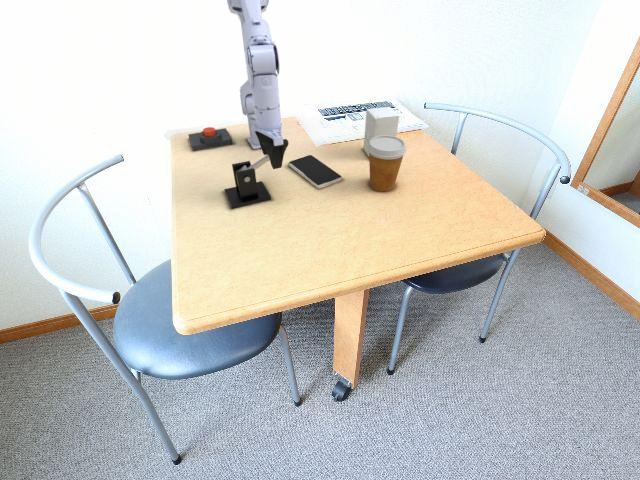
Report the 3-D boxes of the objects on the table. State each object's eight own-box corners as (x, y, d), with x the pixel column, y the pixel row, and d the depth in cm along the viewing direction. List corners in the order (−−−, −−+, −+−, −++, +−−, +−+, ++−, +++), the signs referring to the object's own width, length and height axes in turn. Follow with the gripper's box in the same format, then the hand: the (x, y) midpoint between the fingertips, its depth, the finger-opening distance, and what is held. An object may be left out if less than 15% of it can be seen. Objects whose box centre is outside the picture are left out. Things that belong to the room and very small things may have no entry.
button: (214, 131, 115) (213, 126, 114) (216, 136, 113) (215, 130, 112) (203, 133, 114) (201, 128, 113) (205, 138, 112) (203, 132, 110)
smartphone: (318, 185, 95) (287, 162, 104) (318, 189, 96) (287, 165, 105) (342, 176, 98) (311, 154, 107) (342, 180, 99) (311, 158, 108)
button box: (226, 132, 122) (224, 122, 119) (233, 145, 115) (231, 134, 113) (189, 139, 118) (186, 128, 116) (194, 152, 111) (191, 141, 109)
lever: (272, 154, 91) (268, 146, 90) (278, 162, 88) (273, 154, 86) (239, 175, 91) (234, 169, 90) (244, 184, 88) (238, 177, 87)
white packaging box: (394, 157, 108) (400, 115, 100) (370, 160, 107) (374, 118, 99) (385, 146, 114) (390, 106, 106) (362, 149, 113) (365, 108, 104)
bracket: (262, 184, 97) (258, 155, 92) (271, 199, 92) (268, 170, 86) (224, 192, 95) (218, 163, 89) (231, 209, 89) (225, 179, 84)
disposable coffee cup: (403, 179, 99) (410, 137, 91) (396, 198, 92) (403, 154, 85) (368, 173, 102) (372, 132, 94) (360, 191, 95) (363, 148, 87)
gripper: (241, 97, 85) (248, 150, 94) (258, 120, 75) (264, 178, 84) (270, 92, 87) (275, 146, 96) (290, 114, 77) (293, 171, 86)
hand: (272, 160), depth 90 cm, fingers open, 7 cm apart
